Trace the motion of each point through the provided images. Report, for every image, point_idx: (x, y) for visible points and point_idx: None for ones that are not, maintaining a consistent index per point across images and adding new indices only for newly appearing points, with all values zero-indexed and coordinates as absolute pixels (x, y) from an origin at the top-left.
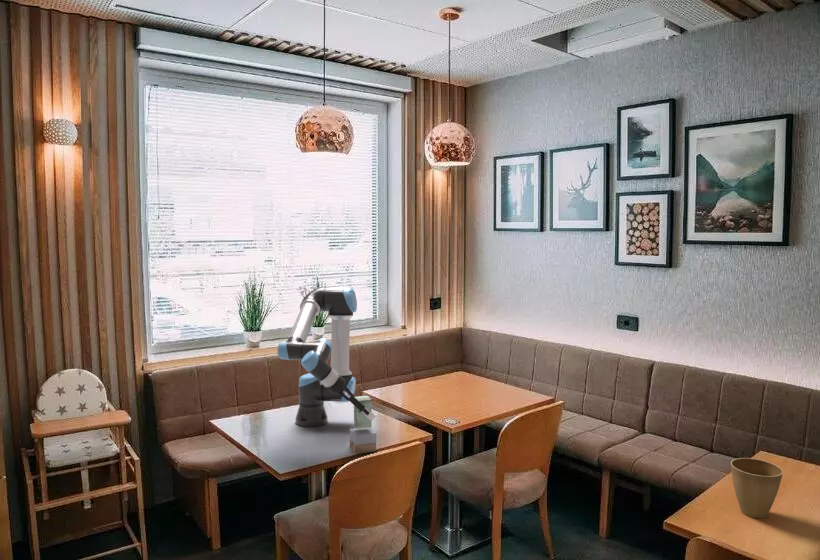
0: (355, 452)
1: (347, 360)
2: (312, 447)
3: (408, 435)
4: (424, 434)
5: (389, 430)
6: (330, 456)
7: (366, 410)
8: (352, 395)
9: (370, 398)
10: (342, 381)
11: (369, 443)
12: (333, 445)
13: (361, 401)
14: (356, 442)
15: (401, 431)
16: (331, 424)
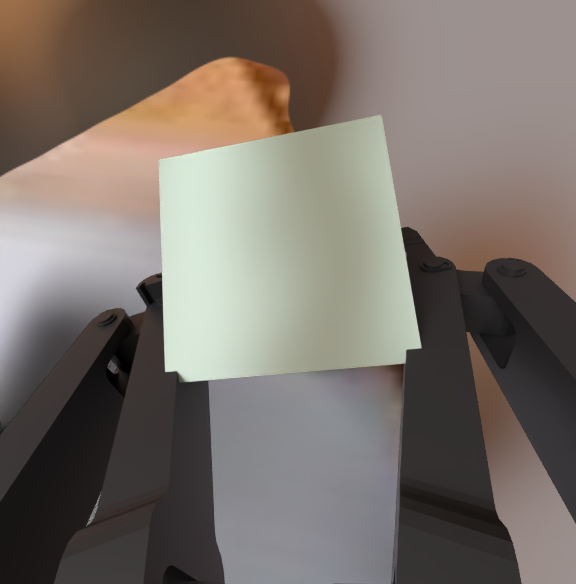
0: None
1: None
2: (256, 539)
3: (215, 118)
4: (220, 63)
5: (144, 180)
6: (390, 474)
7: (430, 252)
8: (498, 550)
9: (323, 127)
10: None
11: None
12: (253, 435)
13: (403, 287)
14: None
15: (167, 138)
16: (9, 399)
